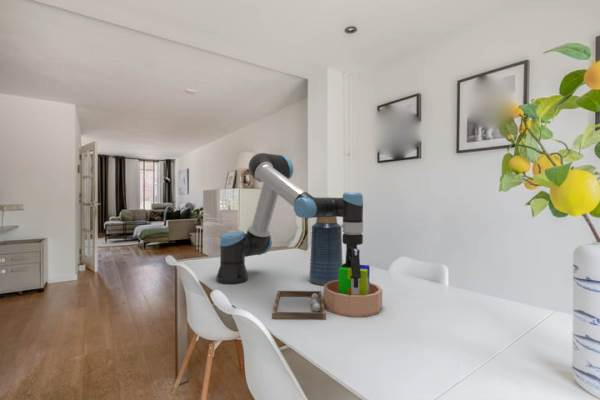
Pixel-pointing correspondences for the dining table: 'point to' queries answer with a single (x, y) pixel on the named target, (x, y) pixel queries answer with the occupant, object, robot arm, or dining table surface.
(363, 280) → the puzzle toy
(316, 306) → the pebble
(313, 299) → the pebble
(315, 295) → the pebble
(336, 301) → the bowl
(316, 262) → the blue thread spool
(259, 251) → the robot arm
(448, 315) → the dining table surface
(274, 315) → the tray
